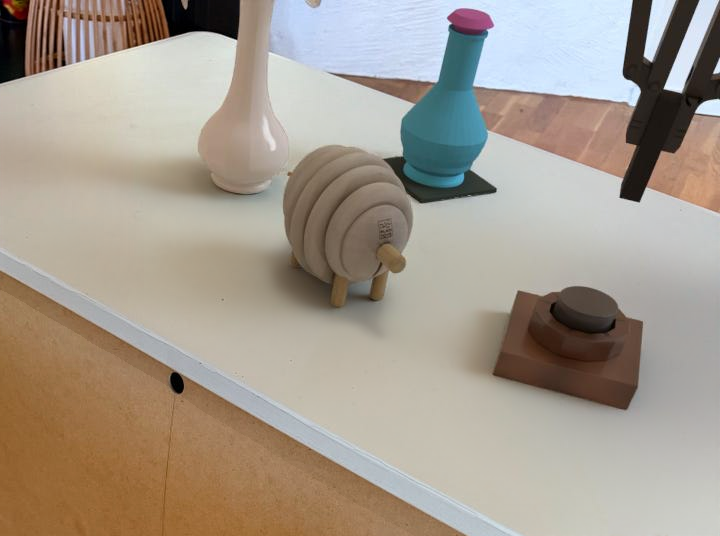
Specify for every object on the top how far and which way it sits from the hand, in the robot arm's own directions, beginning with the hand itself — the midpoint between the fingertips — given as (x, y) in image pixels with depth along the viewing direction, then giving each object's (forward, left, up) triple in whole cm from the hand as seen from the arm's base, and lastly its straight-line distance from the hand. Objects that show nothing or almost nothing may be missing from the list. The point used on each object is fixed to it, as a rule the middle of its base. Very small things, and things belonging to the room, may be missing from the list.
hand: (630, 192), depth 68 cm
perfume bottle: (+34, -10, -14) cm, 38 cm away
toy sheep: (+17, +13, -14) cm, 25 cm away
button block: (0, 0, -14) cm, 14 cm away
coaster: (+34, -10, -14) cm, 38 cm away
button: (0, 0, -10) cm, 10 cm away
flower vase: (+38, +12, -14) cm, 42 cm away
